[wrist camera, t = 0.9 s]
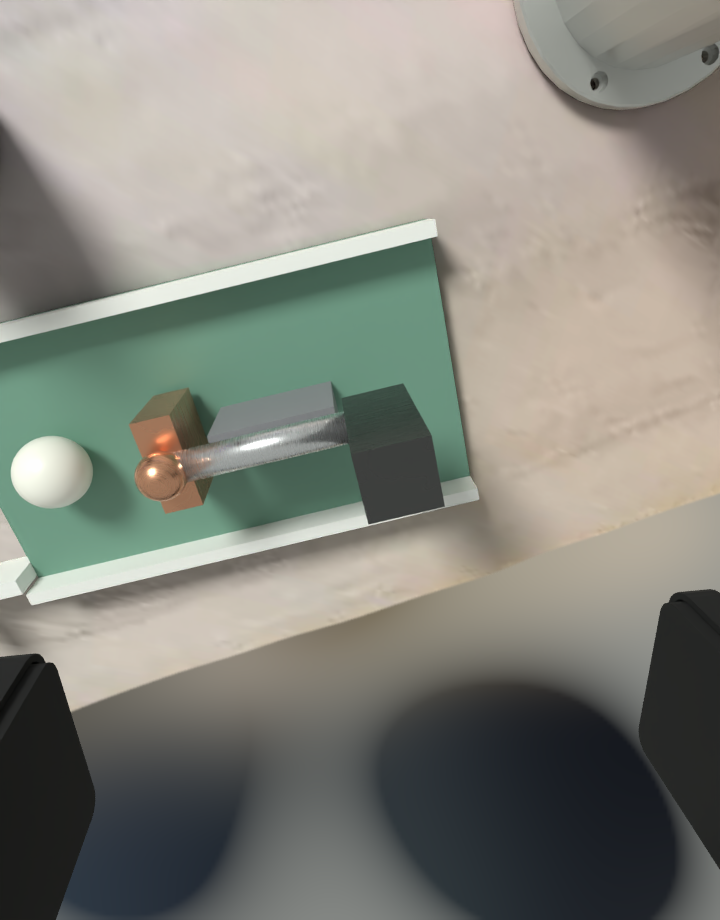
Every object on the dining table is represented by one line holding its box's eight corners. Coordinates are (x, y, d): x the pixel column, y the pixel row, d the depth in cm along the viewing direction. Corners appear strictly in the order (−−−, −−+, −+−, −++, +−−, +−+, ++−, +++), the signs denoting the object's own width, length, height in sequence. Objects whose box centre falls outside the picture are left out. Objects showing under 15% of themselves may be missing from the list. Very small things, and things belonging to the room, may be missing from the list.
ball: (86, 418, 33) (57, 444, 29) (113, 480, 34) (90, 512, 31) (18, 434, 33) (-19, 462, 29) (48, 495, 35) (17, 529, 31)
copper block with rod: (385, 339, 32) (426, 409, 20) (402, 422, 34) (449, 528, 22) (150, 396, 32) (61, 496, 21) (180, 475, 34) (115, 607, 23)
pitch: (424, 219, 31) (449, 219, 26) (467, 480, 37) (494, 525, 32) (-190, 369, 32) (-296, 401, 26) (-45, 601, 38) (-106, 667, 32)
